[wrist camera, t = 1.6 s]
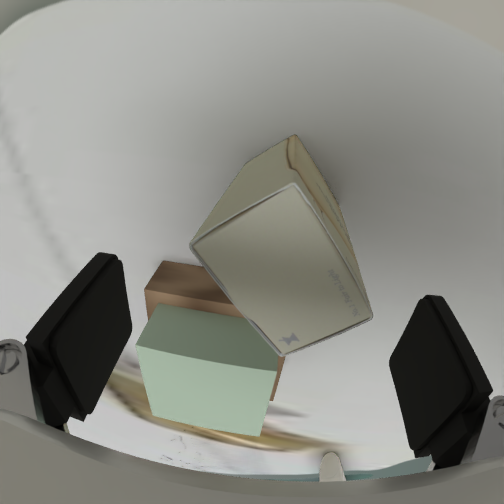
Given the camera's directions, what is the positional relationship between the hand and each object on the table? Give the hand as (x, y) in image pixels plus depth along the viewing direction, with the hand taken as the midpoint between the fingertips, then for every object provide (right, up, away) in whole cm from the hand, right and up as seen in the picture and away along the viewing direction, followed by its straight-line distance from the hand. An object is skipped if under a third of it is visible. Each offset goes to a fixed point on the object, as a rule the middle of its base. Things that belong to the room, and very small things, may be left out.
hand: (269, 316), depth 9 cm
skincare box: (+2, +7, +12) cm, 14 cm away
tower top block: (-3, -6, +15) cm, 17 cm away
